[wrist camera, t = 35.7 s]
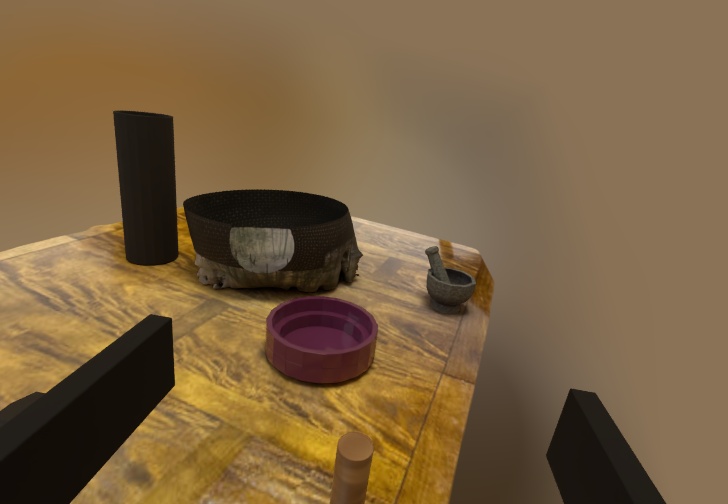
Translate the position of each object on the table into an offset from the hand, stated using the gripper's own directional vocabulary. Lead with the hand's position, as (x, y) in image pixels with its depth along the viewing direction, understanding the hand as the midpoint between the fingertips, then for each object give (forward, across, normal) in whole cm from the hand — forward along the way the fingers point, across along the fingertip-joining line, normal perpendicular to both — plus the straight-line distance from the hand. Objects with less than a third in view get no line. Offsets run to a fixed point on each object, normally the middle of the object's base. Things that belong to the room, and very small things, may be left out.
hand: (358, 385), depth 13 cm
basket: (+66, -24, -28) cm, 76 cm away
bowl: (+42, -8, -28) cm, 51 cm away
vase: (+66, -52, -28) cm, 89 cm away
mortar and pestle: (+66, +12, -28) cm, 72 cm away
